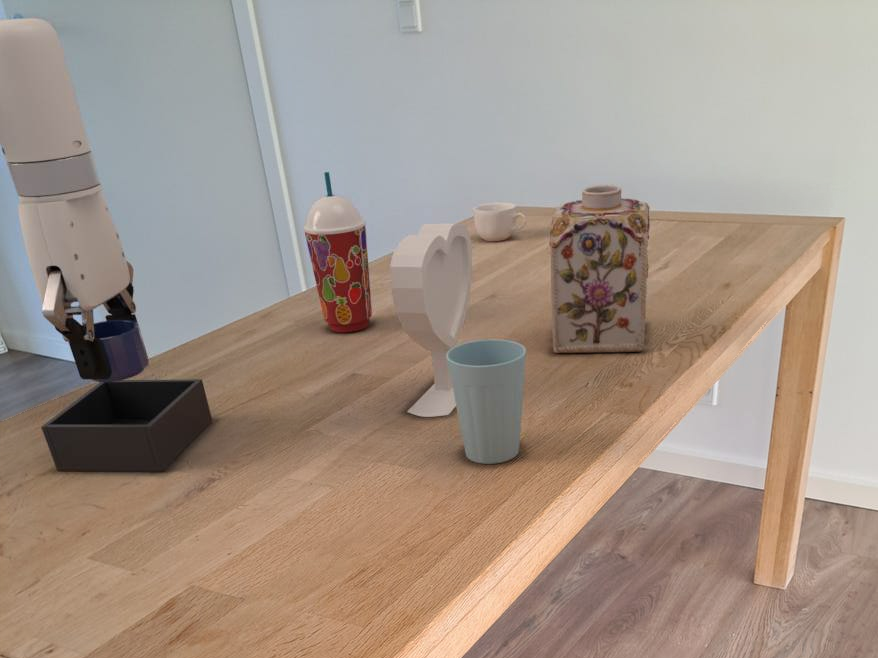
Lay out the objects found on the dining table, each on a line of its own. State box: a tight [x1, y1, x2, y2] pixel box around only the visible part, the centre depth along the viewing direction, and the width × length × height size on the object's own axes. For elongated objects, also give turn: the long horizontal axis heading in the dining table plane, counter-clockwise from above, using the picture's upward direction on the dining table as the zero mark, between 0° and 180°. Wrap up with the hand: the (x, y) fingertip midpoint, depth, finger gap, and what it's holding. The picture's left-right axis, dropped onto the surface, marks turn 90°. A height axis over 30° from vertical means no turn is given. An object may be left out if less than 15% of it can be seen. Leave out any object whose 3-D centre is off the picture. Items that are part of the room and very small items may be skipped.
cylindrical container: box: [90, 320, 150, 383], centre depth 95 cm, size 7×7×4 cm
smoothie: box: [302, 171, 373, 334], centre depth 126 cm, size 8×8×20 cm
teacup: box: [472, 202, 527, 242], centre depth 167 cm, size 10×8×5 cm
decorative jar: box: [548, 184, 651, 354], centre depth 115 cm, size 12×12×18 cm
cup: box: [446, 338, 527, 465], centre depth 91 cm, size 8×8×10 cm
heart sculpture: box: [389, 223, 473, 418], centre depth 102 cm, size 16×5×18 cm, turn 162°
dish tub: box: [40, 378, 213, 473], centre depth 100 cm, size 12×13×5 cm
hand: (114, 363), depth 96 cm, fingers closed on cylindrical container, 6 cm apart
